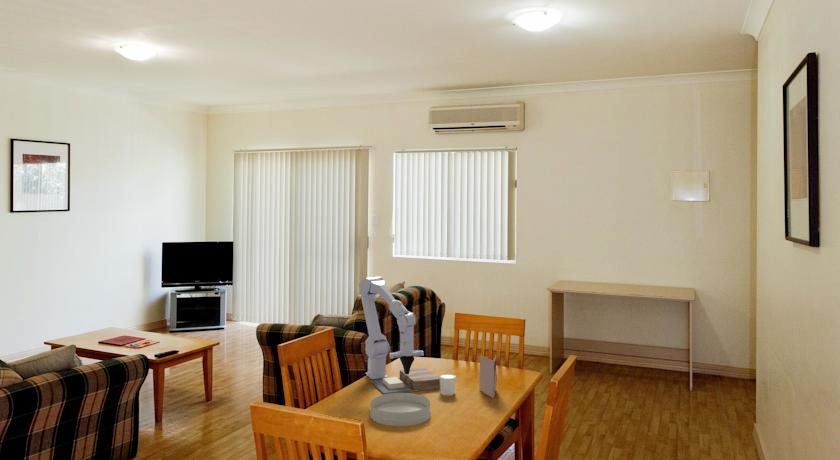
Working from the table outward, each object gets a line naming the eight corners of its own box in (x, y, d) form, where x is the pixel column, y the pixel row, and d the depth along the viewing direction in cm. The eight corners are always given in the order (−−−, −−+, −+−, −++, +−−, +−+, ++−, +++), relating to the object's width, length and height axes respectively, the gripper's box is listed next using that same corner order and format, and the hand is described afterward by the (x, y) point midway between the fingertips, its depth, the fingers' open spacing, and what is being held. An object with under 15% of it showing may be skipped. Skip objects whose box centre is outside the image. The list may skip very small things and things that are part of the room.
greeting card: (495, 398, 240) (496, 361, 239) (476, 397, 242) (477, 360, 241) (497, 389, 251) (498, 354, 251) (479, 388, 253) (480, 353, 252)
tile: (396, 376, 260) (396, 381, 260) (382, 378, 258) (382, 382, 258) (403, 382, 252) (403, 387, 252) (389, 384, 250) (389, 389, 250)
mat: (371, 382, 261) (371, 380, 261) (398, 379, 266) (398, 377, 266) (383, 394, 244) (383, 393, 244) (412, 391, 249) (412, 389, 249)
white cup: (456, 390, 250) (456, 374, 249) (455, 396, 243) (455, 378, 243) (439, 390, 250) (439, 373, 250) (438, 395, 244) (438, 378, 243)
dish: (397, 401, 237) (397, 388, 237) (443, 414, 223) (443, 400, 223) (357, 417, 220) (357, 403, 220) (403, 432, 206) (403, 417, 206)
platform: (399, 379, 266) (399, 369, 266) (425, 376, 270) (425, 367, 270) (413, 391, 249) (413, 381, 249) (441, 388, 253) (441, 378, 253)
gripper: (393, 345, 250) (393, 377, 251) (426, 342, 255) (426, 374, 256) (388, 341, 257) (388, 373, 258) (420, 338, 262) (420, 370, 263)
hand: (406, 373), depth 257 cm, fingers closed
